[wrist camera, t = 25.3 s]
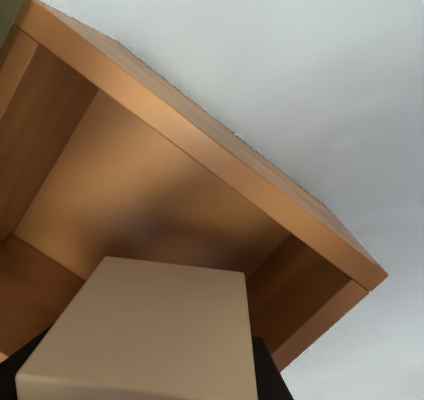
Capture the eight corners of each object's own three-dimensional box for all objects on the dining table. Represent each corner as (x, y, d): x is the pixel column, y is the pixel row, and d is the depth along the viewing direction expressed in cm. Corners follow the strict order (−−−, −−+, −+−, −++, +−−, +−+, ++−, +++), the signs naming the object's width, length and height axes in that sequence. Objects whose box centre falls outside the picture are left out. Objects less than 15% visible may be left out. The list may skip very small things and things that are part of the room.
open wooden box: (326, 206, 15) (389, 275, 9) (191, 348, 19) (174, 466, 13) (113, 38, 13) (24, -8, 7) (3, 230, 17) (-122, 305, 11)
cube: (244, 271, 10) (259, 405, 6) (227, 378, 11) (227, 550, 7) (104, 254, 10) (11, 375, 6) (105, 363, 11) (31, 525, 7)
